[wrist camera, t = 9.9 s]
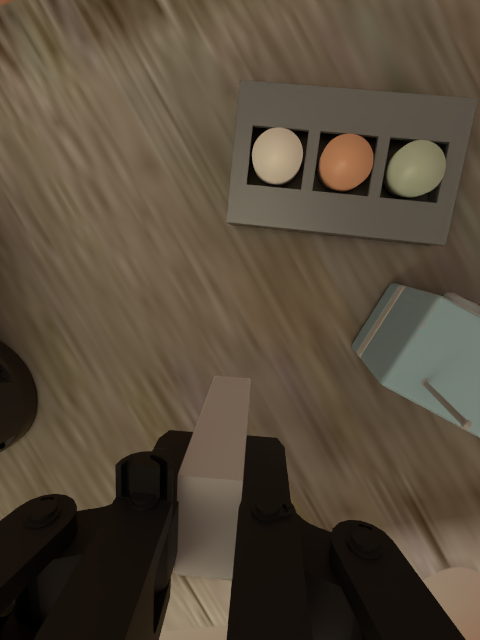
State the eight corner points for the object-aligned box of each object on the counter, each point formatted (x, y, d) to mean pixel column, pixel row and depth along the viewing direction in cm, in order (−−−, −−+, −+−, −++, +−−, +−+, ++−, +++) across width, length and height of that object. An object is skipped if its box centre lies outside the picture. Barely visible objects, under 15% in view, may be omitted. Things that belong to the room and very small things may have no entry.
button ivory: (250, 184, 34) (249, 179, 32) (256, 134, 33) (255, 125, 31) (297, 188, 34) (299, 183, 31) (303, 138, 33) (306, 129, 30)
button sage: (378, 196, 33) (387, 192, 31) (387, 146, 32) (397, 137, 30) (427, 201, 33) (439, 197, 31) (437, 150, 32) (451, 142, 30)
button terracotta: (314, 190, 34) (317, 185, 31) (321, 140, 33) (325, 131, 30) (361, 195, 33) (368, 190, 31) (369, 144, 32) (377, 135, 30)
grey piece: (231, 224, 37) (226, 221, 33) (243, 98, 35) (240, 80, 31) (426, 245, 36) (445, 245, 32) (454, 116, 34) (477, 98, 30)
